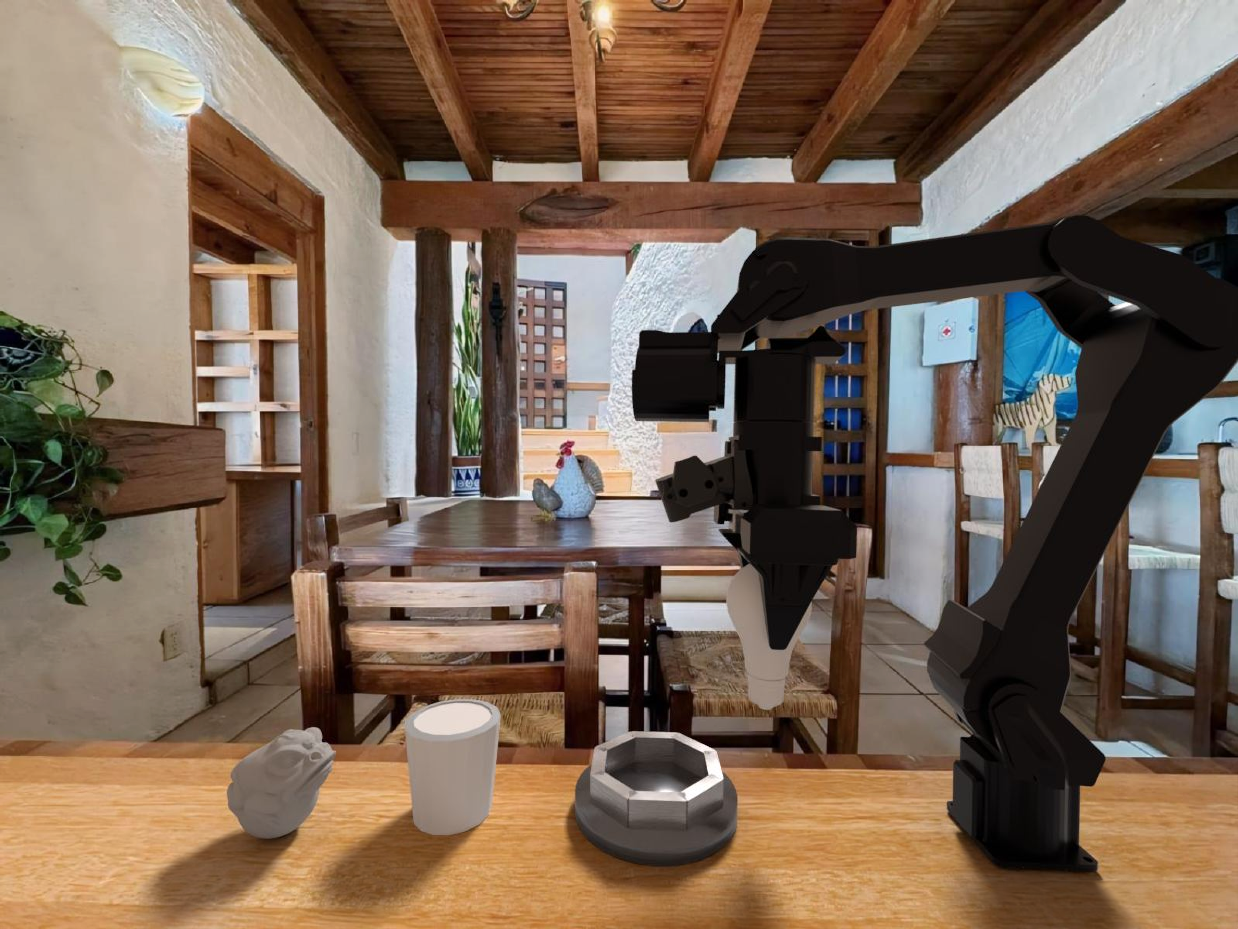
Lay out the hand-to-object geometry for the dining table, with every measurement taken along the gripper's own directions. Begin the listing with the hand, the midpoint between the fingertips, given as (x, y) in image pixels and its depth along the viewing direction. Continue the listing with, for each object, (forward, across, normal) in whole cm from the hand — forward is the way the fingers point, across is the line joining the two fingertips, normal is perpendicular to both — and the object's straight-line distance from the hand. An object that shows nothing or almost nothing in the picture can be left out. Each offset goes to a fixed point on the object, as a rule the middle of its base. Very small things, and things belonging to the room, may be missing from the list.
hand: (767, 634), depth 42 cm
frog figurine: (+14, +4, -34) cm, 37 cm away
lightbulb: (+6, 0, 0) cm, 6 cm away
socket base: (+13, 0, -8) cm, 16 cm away
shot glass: (+14, +1, -23) cm, 27 cm away
